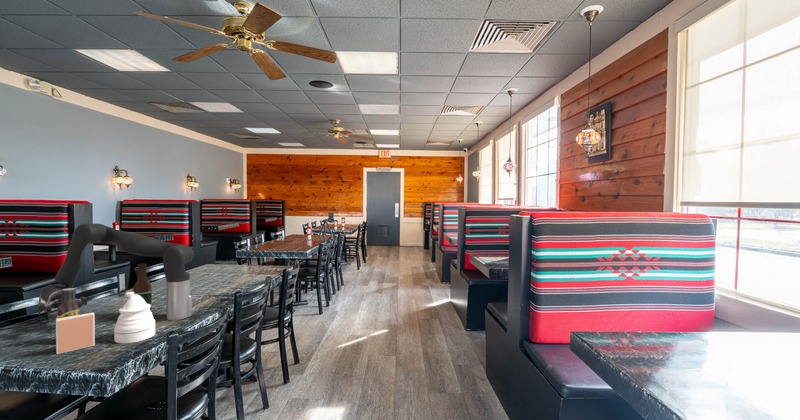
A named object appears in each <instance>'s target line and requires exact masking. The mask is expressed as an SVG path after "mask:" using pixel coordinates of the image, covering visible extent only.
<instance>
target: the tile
mask: <svg viewBox="0 0 800 420" xmlns="http://www.w3.org/2000/svg"><path fill="white" fill-rule="evenodd" d="M95 319H96V318H95V312H87V313H83V314H79V315H76V316H71V317H65V318H59V319H57V318H55V341H56V342H55V351H56V353H55V354H56V355H60V354H63V353H68V352H72V351H77V350H80V349H81V350H82V349H85V348H89V347H94V346H95V345H96V340H95V339H96V337H95V335H96V334H95V332H96V331H95V328H96V326H95V323H96V322H95Z"/></svg>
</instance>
